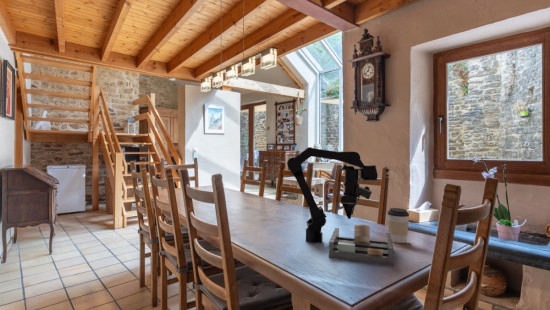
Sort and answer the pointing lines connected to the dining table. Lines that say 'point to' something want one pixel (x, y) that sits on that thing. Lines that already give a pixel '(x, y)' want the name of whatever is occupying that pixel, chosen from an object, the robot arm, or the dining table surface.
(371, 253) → the offcut
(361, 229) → the birch panel
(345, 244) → the offcut
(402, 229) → the coffee cup
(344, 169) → the robot arm
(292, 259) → the dining table surface
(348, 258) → the rack
